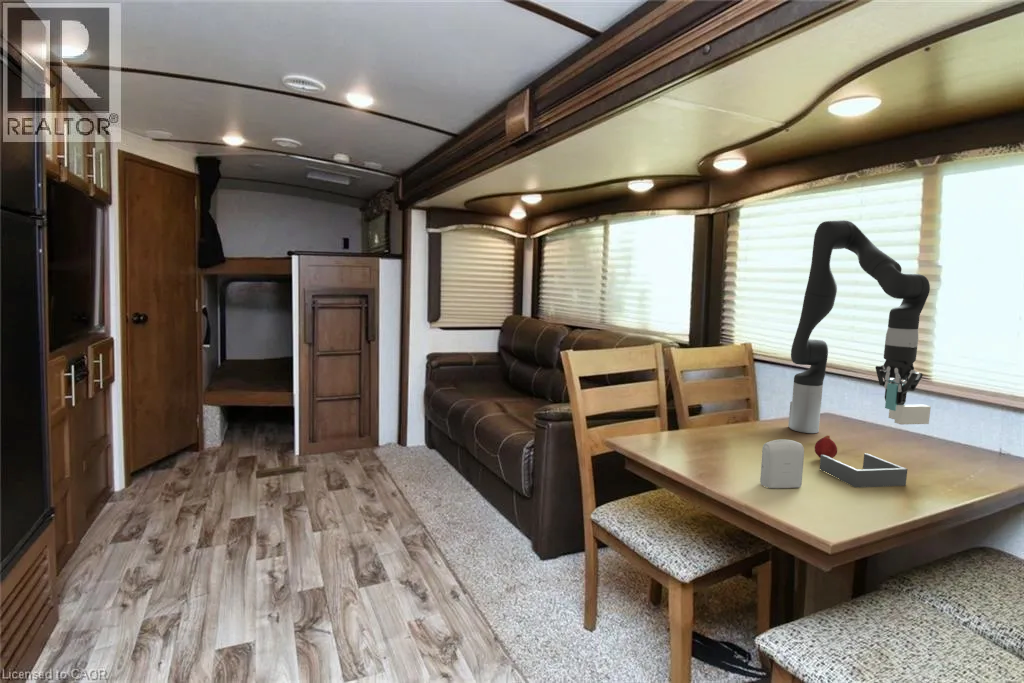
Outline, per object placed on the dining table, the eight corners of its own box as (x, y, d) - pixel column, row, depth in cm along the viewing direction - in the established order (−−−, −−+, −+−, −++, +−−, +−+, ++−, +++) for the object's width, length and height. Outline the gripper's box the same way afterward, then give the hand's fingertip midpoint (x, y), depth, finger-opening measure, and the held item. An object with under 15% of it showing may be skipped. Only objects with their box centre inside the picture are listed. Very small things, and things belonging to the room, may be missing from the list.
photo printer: (766, 489, 134) (770, 442, 133) (756, 483, 139) (760, 437, 137) (804, 489, 135) (808, 442, 134) (793, 482, 140) (797, 437, 138)
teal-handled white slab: (875, 416, 154) (878, 382, 153) (901, 416, 155) (905, 382, 154) (900, 424, 145) (904, 389, 144) (928, 423, 147) (932, 388, 146)
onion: (813, 462, 157) (816, 435, 156) (813, 456, 162) (815, 431, 161) (836, 465, 154) (839, 439, 153) (835, 460, 159) (837, 434, 158)
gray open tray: (819, 470, 150) (820, 454, 149) (865, 468, 152) (867, 453, 152) (855, 487, 137) (857, 470, 137) (905, 485, 139) (907, 469, 139)
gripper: (869, 341, 157) (863, 398, 159) (911, 347, 143) (904, 409, 145) (891, 341, 158) (885, 397, 160) (935, 347, 144) (928, 408, 146)
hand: (894, 402), depth 153 cm, fingers closed on teal-handled white slab, 3 cm apart
